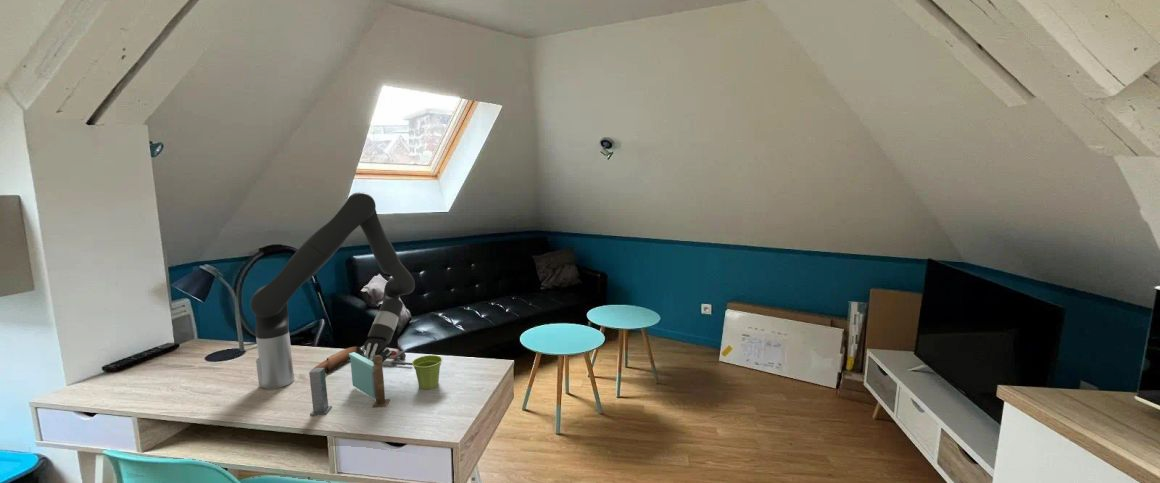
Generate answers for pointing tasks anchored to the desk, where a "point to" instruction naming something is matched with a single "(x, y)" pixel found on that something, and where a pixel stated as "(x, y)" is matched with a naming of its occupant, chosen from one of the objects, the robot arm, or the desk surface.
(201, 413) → the desk surface
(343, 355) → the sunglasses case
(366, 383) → the gate
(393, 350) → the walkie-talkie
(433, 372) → the plant pot
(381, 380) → the hinge post
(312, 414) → the latch post
